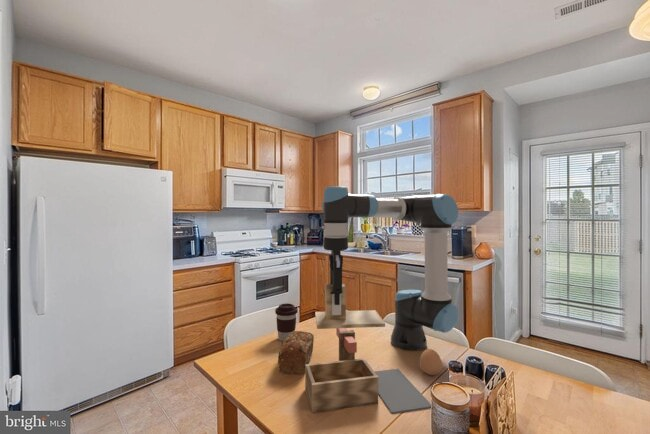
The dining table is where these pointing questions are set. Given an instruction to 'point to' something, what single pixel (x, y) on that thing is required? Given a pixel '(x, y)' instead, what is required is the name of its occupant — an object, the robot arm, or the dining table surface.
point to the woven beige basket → (341, 382)
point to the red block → (348, 341)
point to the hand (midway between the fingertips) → (335, 312)
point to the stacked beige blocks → (345, 314)
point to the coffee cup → (285, 320)
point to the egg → (430, 362)
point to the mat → (399, 392)
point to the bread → (295, 353)
